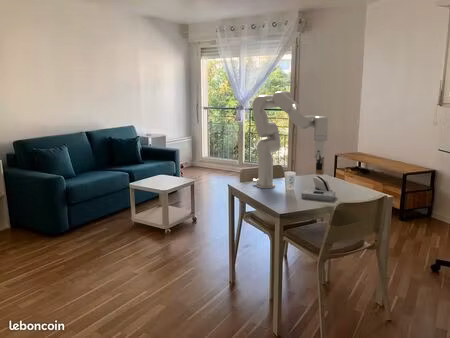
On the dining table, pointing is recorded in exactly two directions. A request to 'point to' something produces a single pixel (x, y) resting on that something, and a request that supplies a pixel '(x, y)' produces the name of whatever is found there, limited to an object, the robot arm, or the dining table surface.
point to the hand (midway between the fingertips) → (319, 168)
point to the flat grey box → (318, 195)
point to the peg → (321, 172)
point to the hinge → (321, 183)
